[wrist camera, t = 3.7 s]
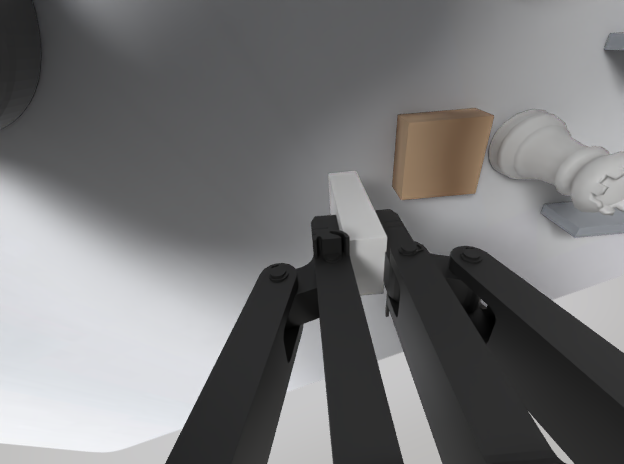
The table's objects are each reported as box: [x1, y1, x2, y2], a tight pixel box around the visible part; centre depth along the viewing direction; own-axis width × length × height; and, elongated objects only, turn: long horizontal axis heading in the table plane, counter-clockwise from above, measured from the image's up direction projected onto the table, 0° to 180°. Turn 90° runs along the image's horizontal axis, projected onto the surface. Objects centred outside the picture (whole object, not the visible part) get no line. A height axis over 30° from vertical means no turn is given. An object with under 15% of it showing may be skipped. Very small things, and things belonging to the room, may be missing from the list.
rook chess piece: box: [489, 109, 624, 216], centre depth 18 cm, size 4×4×8 cm
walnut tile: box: [392, 108, 494, 200], centre depth 20 cm, size 5×5×2 cm
